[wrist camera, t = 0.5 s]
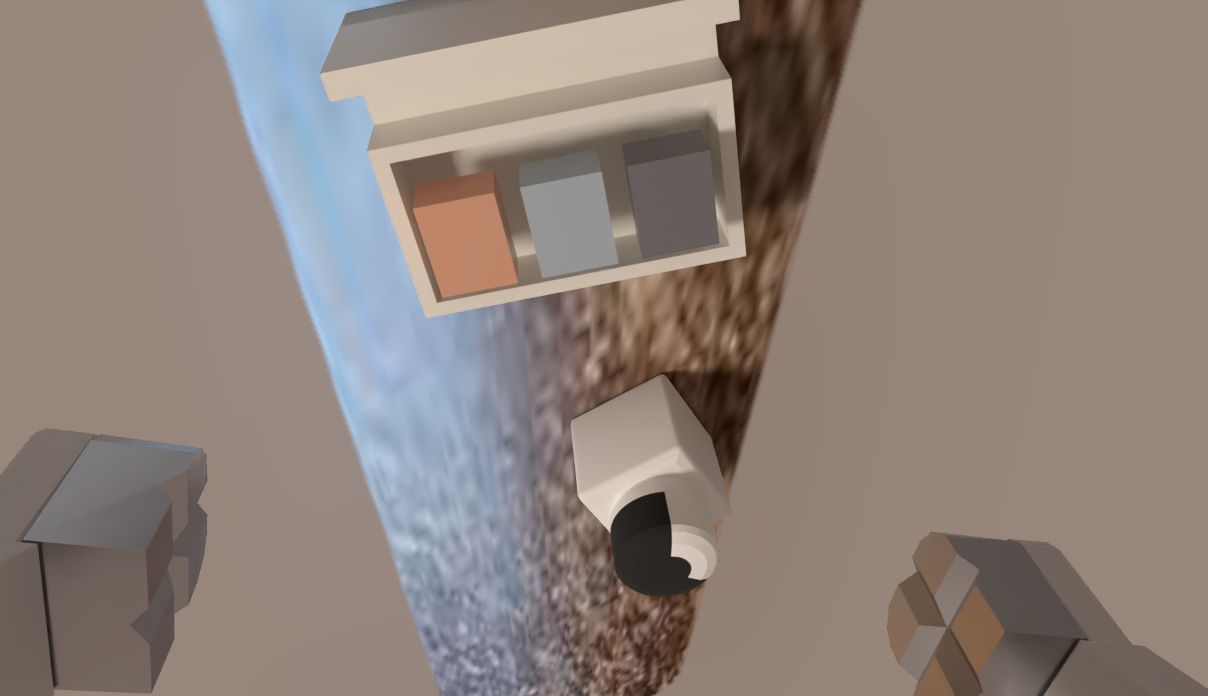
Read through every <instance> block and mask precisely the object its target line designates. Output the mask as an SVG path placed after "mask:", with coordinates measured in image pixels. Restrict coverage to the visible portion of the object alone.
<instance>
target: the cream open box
mask: <svg viewBox="0 0 1208 696" xmlns="http://www.w3.org/2000/svg"><path fill="white" fill-rule="evenodd" d="M736 20H740V15H739V1H738V0H410V1H405V2H400V3H395V4H391V5H386V6H381V7H376V8H371V9H366V10H361V11H356V12H351V13H346V15H345V17H344V19H343V21H342V24H341V26H340V28H339V31H338V33H337V35H336V38H335V40H334V42H333V44H332V47H331V49H330V51H329V54H328V56H327V58H326V60H325V63H324V65H323V67H322V70H321V72H320V76H321V79H322V82H323V84H324V87H325V90H326V92H327V95H328V98H329V100H330V102H333V101H338V100H343V99H348V98H353V97H358V96H363V95H364V98H365V101H366V103H367V106H368V109H369V112H370V115H371V118H372V121H373V124H374V127H373V131H372V134H371V138H370V142H369V146H368V149H367V153H368V156H369V158H370V161H371V164H372V167H373V170H374V172H375V175H376V178H377V181H378V184H379V187H380V189H381V192H382V195H383V198H384V201H385V203H386V206H387V209H388V212H389V215H390V217H391V220H392V223H393V226H394V229H395V231H396V234H397V237H398V240H399V243H400V246H401V248H402V251H403V254H404V257H405V260H406V262H407V265H408V268H409V271H410V274H411V276H412V279H413V282H414V285H415V288H416V291H417V293H418V296H419V299H420V302H421V305H422V307H423V310H424V313H425V316H426V318H430V317H435V316H440V315H446V314H451V313H456V312H461V311H466V310H471V309H476V308H482V307H487V306H492V305H497V304H502V303H507V302H512V301H517V300H523V299H528V298H533V297H538V296H543V295H548V294H553V293H559V292H564V291H569V290H574V289H579V288H584V287H589V286H594V285H600V284H605V283H610V282H615V281H620V280H625V279H630V278H635V277H641V276H646V275H651V274H656V273H661V272H666V271H671V270H677V269H682V268H687V267H692V266H697V265H702V264H707V263H712V262H718V261H723V260H728V259H733V258H738V257H743V256H746V250H745V237H744V225H743V213H742V201H741V189H740V177H739V165H738V153H737V140H736V128H735V116H734V104H733V92H732V80H731V77H730V75H729V74H728V72H727V70H726V68H725V67H724V65H723V63H722V62H721V60H720V58H719V56H718V47H717V36H716V24H721V23H726V22H731V21H736ZM696 129H701V131H702V134H703V136H704V138H705V140H706V143H707V145H708V147H709V149H710V156H711V166H712V176H713V185H714V195H715V205H716V215H717V224H718V234H719V244H716V245H710V246H705V247H700V248H695V249H690V250H685V251H680V252H675V253H669V254H664V255H659V256H654V257H649V258H644V259H643V258H642V254H641V250H640V246H639V242H638V238H637V233H636V227H635V222H634V216H633V210H632V204H631V198H630V192H629V186H628V180H627V174H626V168H625V162H624V156H623V150H622V144H626V143H631V142H636V141H641V140H646V139H651V138H656V137H661V136H666V135H671V134H676V133H681V132H686V131H691V130H696ZM595 149H597V152H598V157H599V162H600V166H601V171H602V176H603V182H604V187H605V193H606V198H607V203H608V209H609V214H610V220H611V225H612V230H613V236H614V241H615V246H616V252H617V257H618V264H613V265H608V266H603V267H598V268H593V269H588V270H582V271H577V272H572V273H567V274H562V275H557V276H552V277H547V278H542V275H541V271H540V267H539V263H538V259H537V255H536V251H535V247H534V243H533V239H532V235H531V231H530V227H529V223H528V219H527V215H526V211H525V207H524V203H523V199H522V195H521V191H520V183H519V165H520V164H525V163H530V162H535V161H540V160H545V159H550V158H555V157H560V156H565V155H570V154H575V153H580V152H585V151H590V150H595ZM490 170H494V172H495V175H496V179H497V183H498V187H499V190H500V194H501V198H502V202H503V206H504V209H505V213H506V217H507V221H508V224H509V228H510V232H511V236H512V239H513V243H514V247H515V251H516V254H517V261H518V283H516V284H511V285H506V286H501V287H495V288H490V289H485V290H480V291H475V292H470V293H465V294H460V295H455V296H449V297H444V298H442V295H441V292H440V289H439V286H438V283H437V280H436V277H435V274H434V271H433V268H432V265H431V262H430V259H429V256H428V253H427V250H426V248H425V245H424V242H423V239H422V236H421V233H420V230H419V227H418V224H417V221H416V218H415V215H414V212H413V202H414V196H415V189H416V185H419V184H424V183H429V182H434V181H439V180H444V179H449V178H454V177H459V176H464V175H469V174H474V173H479V172H485V171H490Z"/></svg>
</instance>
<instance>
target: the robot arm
mask: <svg viewBox="0 0 1208 696" xmlns="http://www.w3.org/2000/svg"><path fill="white" fill-rule="evenodd" d="M206 482H207V456H206V454H205V452H204V450H203V449H202V448H197V447H189V446H182V445H175V444H167V443H160V442H152V441H145V440H138V439H130V438H123V437H116V436H108V435H99V436H98V435H95V434H89V433H81V432H73V431H65V430H57V429H49V428H45V429H43V430H41V431H39V432H36V433H35V434H33V435H32V436H31V437H30V439H29V440H28V441H27V442H26V444H25V445H24V446H23V448H22V449H21V450H20V451H19V453H18V454H17V455H16V456H15V458H14V459H13V460H12V461H11V463H10V464H9V465H8V466H7V468H6V469H5V470H4V471H3V473H2V474H1V475H0V696H53V695H54V690H78V691H104V692H129V693H152V691H153V688H154V686H155V683H156V681H157V679H158V676H159V674H160V672H161V669H162V667H163V664H164V662H165V660H166V657H167V655H168V652H169V650H170V648H171V646H172V643H173V640H174V614H175V613H176V612H178V611H179V610H181V609H182V608H184V607H185V606H187V605H188V604H189V602H190V599H191V597H192V594H193V592H194V589H195V587H196V584H197V581H198V577H199V573H200V569H201V565H202V561H203V557H204V550H205V543H206V535H207V514H206V513H205V511H204V510H203V509H202V508H201V507H200V506H199V504H198V500H199V498H200V496H201V494H202V491H203V489H204V487H205V484H206ZM913 560H914V563H915V566H916V570H917V572H916V573H915V574H913V575H912V576H910V577H909V578H907V579H906V580H904V581H903V582H901V583H900V584H899V585H898V586H897V589H896V591H895V593H894V596H893V598H892V600H891V603H890V604H889V612H888V625H887V629H888V634H889V640H890V644H891V648H892V650H893V652H894V654H895V657H896V659H897V661H898V663H899V665H901V666H902V667H903V668H904V669H905V670H906V671H907V672H909V673H910V674H911V675H912V676H913V677H914V678H916V679H917V680H918V682H917V685H916V689H915V692H914V696H1208V689H1207V688H1206V687H1204V686H1203V685H1201V684H1200V683H1198V682H1197V681H1195V680H1194V679H1192V678H1191V677H1189V676H1188V675H1186V674H1185V673H1183V672H1182V671H1180V670H1179V669H1177V668H1176V667H1174V666H1173V665H1171V664H1170V663H1168V662H1167V661H1165V660H1164V659H1162V658H1161V657H1160V656H1158V655H1157V654H1155V653H1154V652H1152V651H1151V650H1149V649H1148V648H1146V647H1145V646H1137V645H1132V644H1131V642H1130V641H1129V640H1128V638H1127V637H1126V636H1125V634H1124V633H1123V632H1122V631H1121V629H1120V628H1119V627H1118V626H1117V624H1116V623H1115V621H1114V620H1113V619H1112V617H1111V616H1110V615H1109V614H1108V612H1107V611H1106V610H1105V608H1104V607H1103V606H1102V604H1101V603H1100V602H1099V601H1098V599H1097V598H1096V597H1095V595H1094V594H1093V593H1092V591H1091V590H1090V589H1089V587H1088V586H1087V585H1086V584H1085V582H1084V581H1083V580H1082V578H1081V577H1080V576H1079V574H1078V573H1077V572H1076V571H1075V569H1074V568H1073V567H1072V565H1071V564H1070V563H1069V561H1068V560H1067V559H1066V557H1065V556H1064V555H1063V554H1062V552H1061V551H1060V550H1059V549H1057V548H1056V547H1054V546H1052V545H1051V544H1049V543H1047V542H1036V541H1025V540H1014V539H1008V540H1001V539H992V538H983V537H974V536H965V535H955V534H946V533H937V532H931V533H929V534H928V535H927V536H926V537H925V538H923V539H922V540H921V541H920V543H919V545H918V547H917V549H916V551H915V553H914V555H913Z"/></svg>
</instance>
